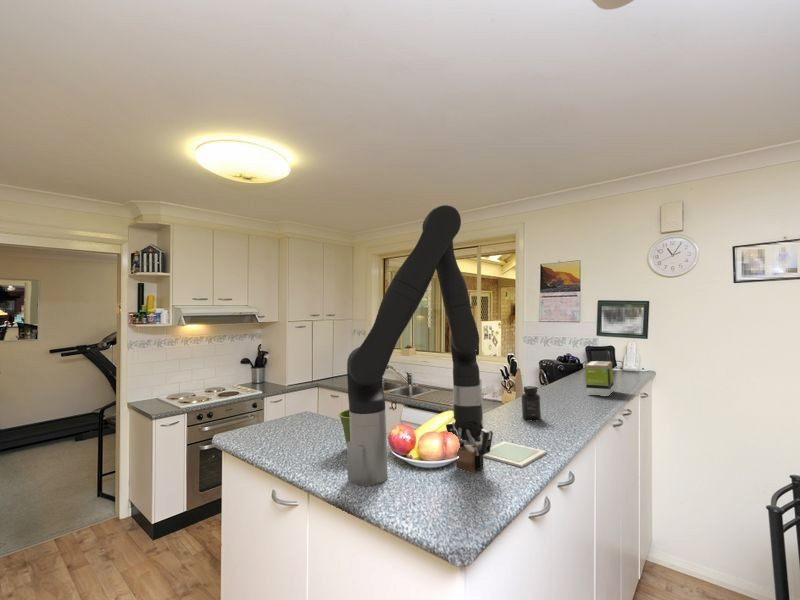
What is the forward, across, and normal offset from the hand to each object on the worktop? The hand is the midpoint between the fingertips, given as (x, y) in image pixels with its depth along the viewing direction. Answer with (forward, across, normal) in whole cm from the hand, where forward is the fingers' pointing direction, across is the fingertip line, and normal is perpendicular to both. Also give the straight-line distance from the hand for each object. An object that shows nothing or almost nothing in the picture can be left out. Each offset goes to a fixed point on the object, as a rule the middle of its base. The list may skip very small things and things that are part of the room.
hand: (470, 466), depth 105 cm
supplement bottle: (+1, -11, +54) cm, 55 cm away
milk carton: (+1, -15, +22) cm, 27 cm away
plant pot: (+1, -35, -10) cm, 36 cm away
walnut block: (0, 0, 0) cm, 0 cm away
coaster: (0, +3, +16) cm, 16 cm away
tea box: (+1, -8, +116) cm, 116 cm away
